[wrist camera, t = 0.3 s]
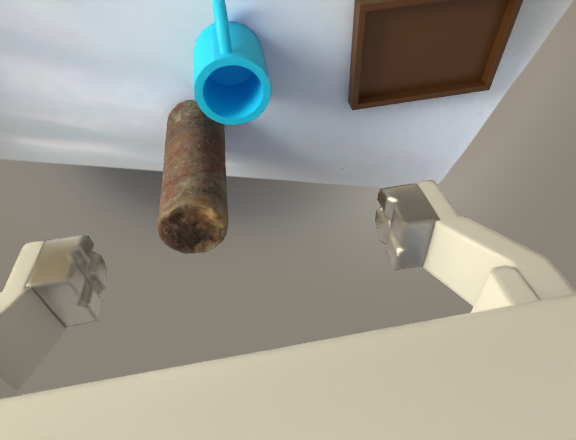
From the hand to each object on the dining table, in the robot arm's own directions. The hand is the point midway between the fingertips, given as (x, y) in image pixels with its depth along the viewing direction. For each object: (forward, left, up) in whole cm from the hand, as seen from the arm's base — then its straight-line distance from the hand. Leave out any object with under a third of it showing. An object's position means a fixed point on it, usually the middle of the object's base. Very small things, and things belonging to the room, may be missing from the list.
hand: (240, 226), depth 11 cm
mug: (+13, 0, -39) cm, 41 cm away
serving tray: (+17, +25, -39) cm, 49 cm away
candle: (+23, -6, -39) cm, 46 cm away
